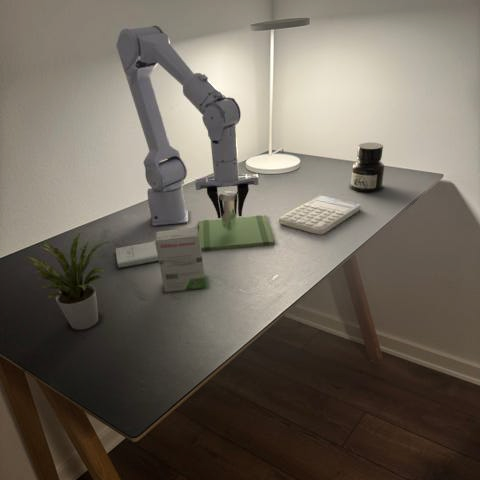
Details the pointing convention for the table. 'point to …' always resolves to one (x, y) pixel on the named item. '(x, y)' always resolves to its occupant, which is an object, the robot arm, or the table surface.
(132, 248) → the hard drive
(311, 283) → the table surface
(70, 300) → the house plant
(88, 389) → the table surface
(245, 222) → the towel
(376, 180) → the ink bottle
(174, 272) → the ink box
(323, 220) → the calculator
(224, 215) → the milkshake
